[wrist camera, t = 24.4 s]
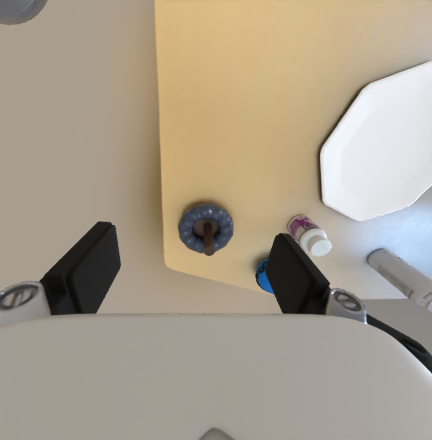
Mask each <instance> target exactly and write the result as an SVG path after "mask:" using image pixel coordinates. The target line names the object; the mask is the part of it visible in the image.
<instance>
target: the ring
mask: <svg viewBox="0 0 432 440" xmlns="http://www.w3.org/2000/svg"><path fill="white" fill-rule="evenodd" d="M201 219H211V220H214V221H216V222H217V224H218V225H219V232H218V234H217V235H216V236H215V237H214V246H215V252H216V251H218V250H220V249H221V248H223V247H225V246H226V245H227V243H228V242H229V240H230V239H231V237H232V236H233V221H232V219H231V217H230V216H229V214H228V213H227V211H226V210H224V209H223V208H220V207H218V206H216V205H214V204H198V205H195V206H194V207H192V208H190V209H189V210H187V211H186V212H184V214H183V216H182V218H181V220H180V222H179V224H178V230H179V237H180V239H181V241H182V242H183V243H184V244H185V245H186V246H187V248H189V249H191V250H193V251H196V252H199V253H204V240H203V239H200V238H198V237H196V236H195V234H194V233H193V226H194V224H195V223H196V222H197V221H199V220H201Z"/></svg>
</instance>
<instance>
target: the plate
mask: <svg viewBox="0 0 432 440" xmlns="http://www.w3.org/2000/svg"><path fill="white" fill-rule="evenodd" d="M319 155H320V173H321V190H322V201H323V203H324V204H325V205H327V206H328V207H330V208H332V209H334V210H336V211H338V212H340V213H342V214H344V215H345V216H347V217H349V218H351V219H353V220H355V221H361V222H362V221H365V220H368V219H371V218H375V217H378V216H381V215H384V214H388V213H391V212H394V211H397V210H401V209H404V208H406V207H408V206H410V205H411V204H413V203H414V202H415V201H416V200H417V199H418V198H419V197H420V196H421V195H422V194H423V193H424V192H425V191H426V190H427V189H428V188H429V187H430V186H431V185H432V61H429V62H426V63H423V64H421V65H418V66H415V67H413V68H410V69H407V70H405V71H402V72H399V73H396V74H394V75H391V76H388V77H386V78H383V79H380V80H377V81H375V82H372V83H369V84H368V85H367V86H365V87H364V88H363V89H362V90H361V91H360V93H359V94H358V95H357V97H356V98H355V100H354V101H353V103H352V104H351V106H350V107H349V108H348V110H347V111H346V113H345V114H344V116H343V117H342V119H341V120H340V121H339V123H338V124H337V126H336V127H335V129H334V130H333V132H332V133H331V134H330V136H329V137H328V139H327V140H326V142H325V143H324V145H323V146H322V148H321V151H320V154H319Z"/></svg>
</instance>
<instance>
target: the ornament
mask: <svg viewBox="0 0 432 440" xmlns="http://www.w3.org/2000/svg"><path fill="white" fill-rule="evenodd" d="M267 261H268V259H266V260H264V261H262V262H261V263H260V265H259V266H258V268H257V272H256V281H257V283H258V285H259V286H260V287H261V288H262V289H263V290H265V291H267V292H269V293H272V294H274V292H273V290H272V288H271V286H270V283H269V281H268V279H267V277H266V274H265V267H266V264H267Z"/></svg>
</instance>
